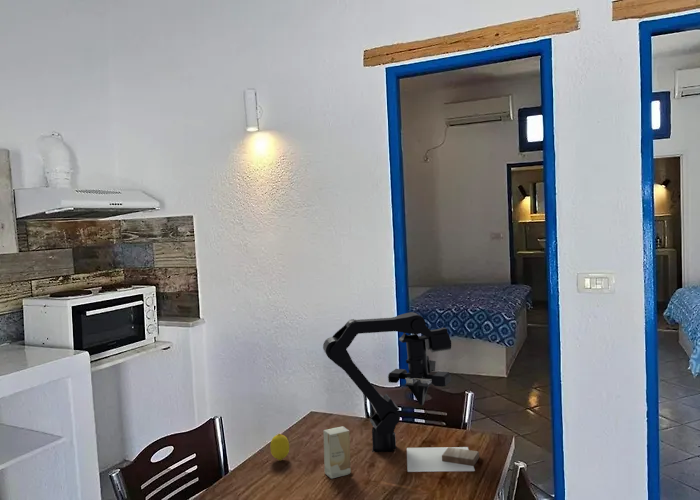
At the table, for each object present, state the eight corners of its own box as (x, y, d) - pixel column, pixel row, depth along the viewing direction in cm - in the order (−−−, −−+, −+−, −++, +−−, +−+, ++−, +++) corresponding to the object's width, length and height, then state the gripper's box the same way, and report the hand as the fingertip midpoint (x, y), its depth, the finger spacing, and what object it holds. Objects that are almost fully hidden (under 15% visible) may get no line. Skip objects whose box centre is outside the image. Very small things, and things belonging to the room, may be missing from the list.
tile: (441, 454, 160) (473, 459, 156) (448, 446, 165) (479, 451, 161) (442, 461, 160) (473, 466, 156) (448, 452, 165) (479, 457, 161)
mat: (407, 473, 155) (407, 471, 155) (406, 449, 170) (406, 447, 170) (475, 473, 153) (474, 470, 153) (467, 449, 169) (467, 447, 169)
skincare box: (331, 479, 153) (328, 435, 153) (324, 473, 157) (321, 430, 157) (352, 473, 156) (350, 429, 156) (345, 467, 160) (342, 425, 160)
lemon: (293, 457, 169) (292, 431, 168) (283, 465, 164) (282, 438, 163) (277, 455, 171) (276, 429, 171) (267, 463, 166) (265, 436, 166)
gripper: (455, 348, 174) (460, 398, 175) (400, 346, 184) (405, 393, 185) (442, 358, 165) (446, 411, 166) (384, 355, 174) (389, 405, 176)
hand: (421, 404), depth 173 cm, fingers closed
